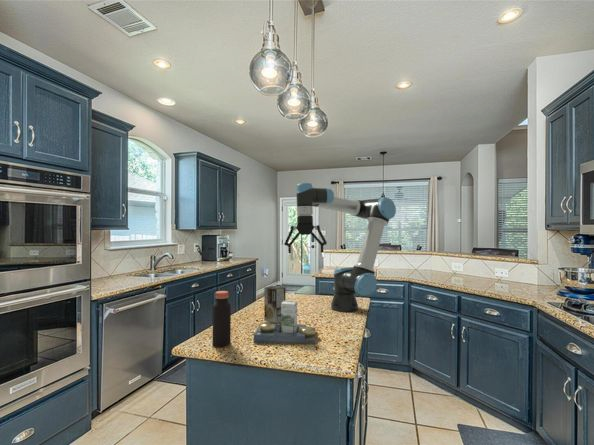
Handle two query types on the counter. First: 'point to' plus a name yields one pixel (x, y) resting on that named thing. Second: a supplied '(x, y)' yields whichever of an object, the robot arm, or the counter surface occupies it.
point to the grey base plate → (309, 339)
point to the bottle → (221, 320)
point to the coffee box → (273, 303)
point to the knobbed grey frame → (275, 333)
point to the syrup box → (289, 317)
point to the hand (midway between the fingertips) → (306, 259)
